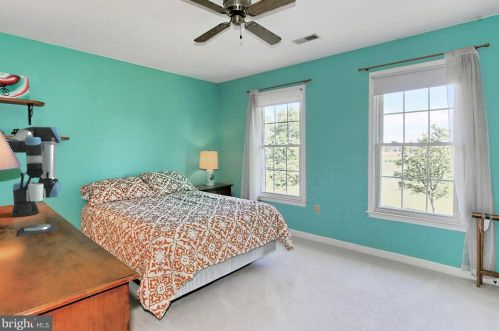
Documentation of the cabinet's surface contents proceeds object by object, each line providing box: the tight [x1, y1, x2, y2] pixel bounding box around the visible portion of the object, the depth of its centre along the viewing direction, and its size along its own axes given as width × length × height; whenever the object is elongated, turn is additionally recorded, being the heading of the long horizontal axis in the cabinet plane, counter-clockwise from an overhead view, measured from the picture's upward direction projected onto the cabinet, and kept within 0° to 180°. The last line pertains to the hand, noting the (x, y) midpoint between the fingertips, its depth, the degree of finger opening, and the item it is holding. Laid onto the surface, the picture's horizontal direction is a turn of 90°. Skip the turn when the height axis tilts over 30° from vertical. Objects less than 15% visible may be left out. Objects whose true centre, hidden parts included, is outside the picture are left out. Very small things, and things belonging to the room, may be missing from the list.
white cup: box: [28, 182, 44, 202], centre depth 164 cm, size 8×8×10 cm
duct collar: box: [18, 222, 56, 237], centre depth 154 cm, size 14×16×2 cm
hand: (36, 199), depth 164 cm, fingers closed on white cup, 7 cm apart
